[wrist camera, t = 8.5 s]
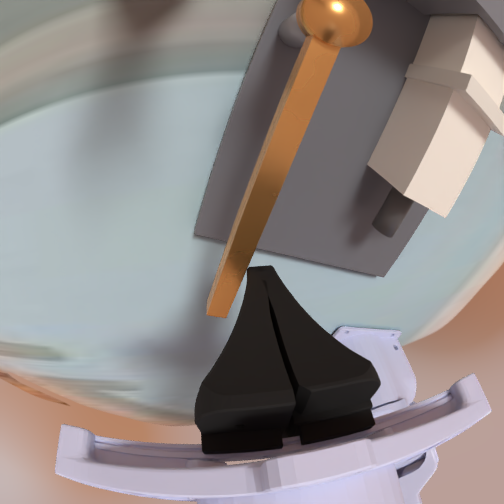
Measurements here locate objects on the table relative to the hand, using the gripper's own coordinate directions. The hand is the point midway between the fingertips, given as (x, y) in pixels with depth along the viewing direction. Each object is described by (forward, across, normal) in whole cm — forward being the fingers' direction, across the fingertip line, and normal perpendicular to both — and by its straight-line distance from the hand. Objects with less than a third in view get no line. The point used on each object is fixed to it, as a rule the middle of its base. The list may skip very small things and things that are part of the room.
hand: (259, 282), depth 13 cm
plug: (+5, -11, -8) cm, 15 cm away
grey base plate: (+6, -9, -8) cm, 13 cm away
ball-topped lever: (+1, 0, -5) cm, 5 cm away
